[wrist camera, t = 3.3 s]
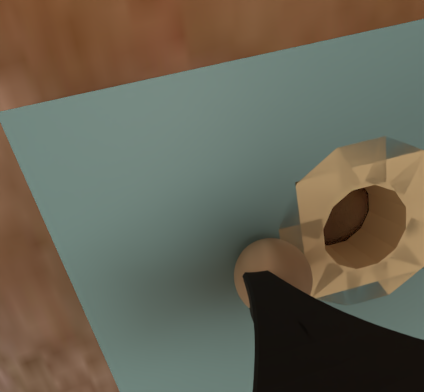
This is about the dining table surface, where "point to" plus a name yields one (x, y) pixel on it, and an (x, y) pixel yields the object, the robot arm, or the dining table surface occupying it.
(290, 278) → the maple ball
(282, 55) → the hole board
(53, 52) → the dining table surface
